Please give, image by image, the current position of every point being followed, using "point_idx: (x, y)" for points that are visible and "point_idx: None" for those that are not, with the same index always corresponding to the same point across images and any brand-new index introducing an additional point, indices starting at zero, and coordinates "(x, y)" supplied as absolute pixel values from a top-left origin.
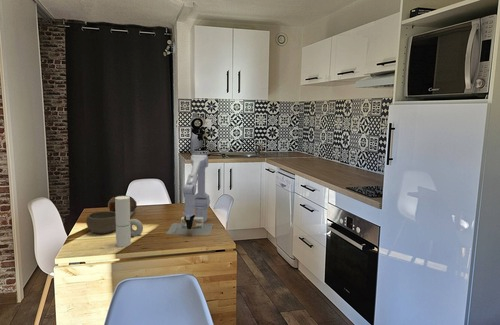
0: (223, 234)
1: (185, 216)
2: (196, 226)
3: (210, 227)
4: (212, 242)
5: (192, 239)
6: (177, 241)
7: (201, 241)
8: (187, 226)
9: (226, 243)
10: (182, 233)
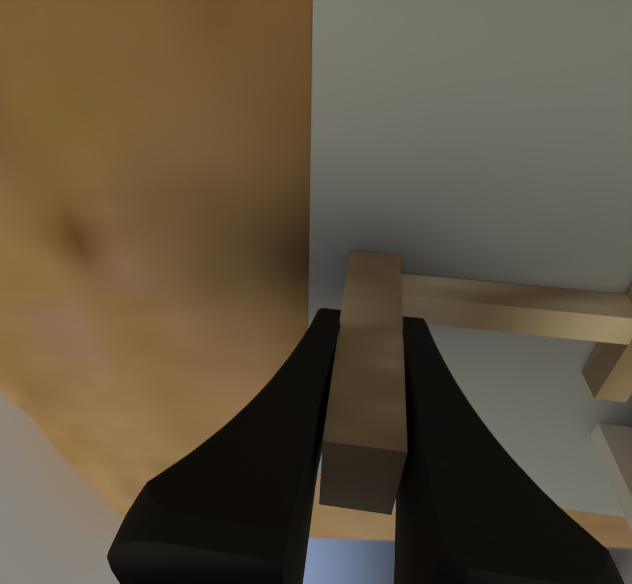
0: (356, 532)
1: (449, 565)
2: (624, 399)
3: (585, 499)
4: (129, 452)
5: (165, 305)
6: (12, 100)
7: (126, 384)
8: (304, 348)
9: None
10: (357, 167)
